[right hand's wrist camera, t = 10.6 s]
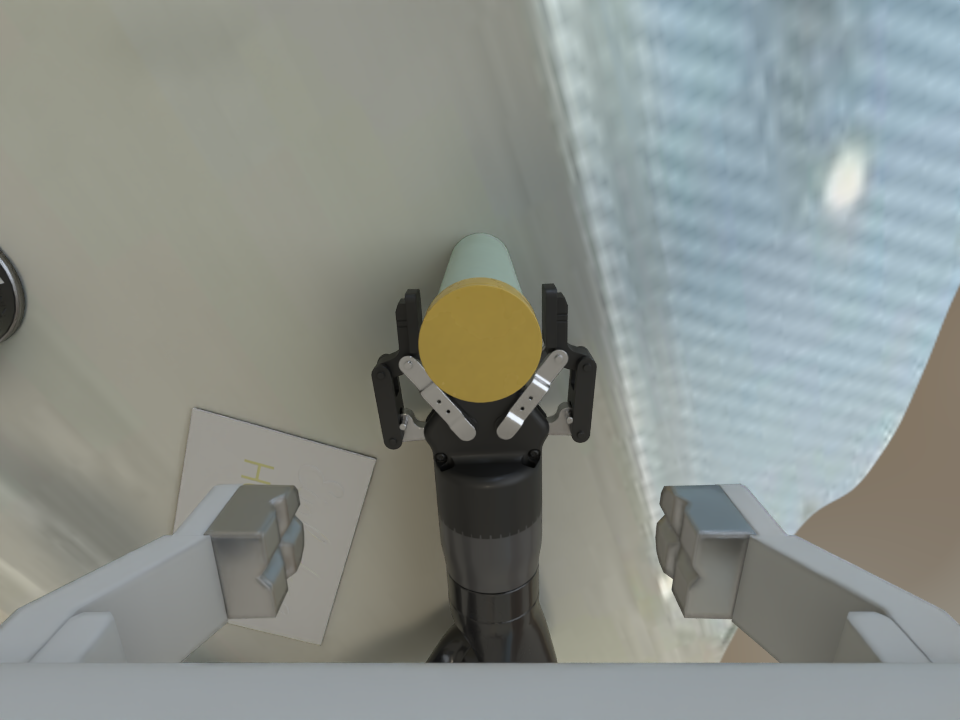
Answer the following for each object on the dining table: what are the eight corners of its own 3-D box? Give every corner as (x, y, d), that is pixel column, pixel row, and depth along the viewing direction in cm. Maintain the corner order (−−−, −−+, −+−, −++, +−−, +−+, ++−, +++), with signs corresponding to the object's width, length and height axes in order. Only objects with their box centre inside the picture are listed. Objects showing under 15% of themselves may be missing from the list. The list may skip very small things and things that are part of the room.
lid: (555, 299, 22) (561, 309, 20) (514, 401, 23) (516, 417, 22) (443, 260, 21) (440, 267, 20) (408, 367, 23) (403, 381, 21)
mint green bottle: (519, 245, 38) (552, 309, 21) (498, 301, 39) (512, 406, 22) (461, 224, 37) (444, 273, 20) (442, 282, 39) (411, 374, 21)
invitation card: (192, 408, 42) (375, 460, 43) (193, 407, 42) (376, 459, 44) (160, 608, 49) (320, 646, 50) (162, 605, 49) (321, 643, 51)
